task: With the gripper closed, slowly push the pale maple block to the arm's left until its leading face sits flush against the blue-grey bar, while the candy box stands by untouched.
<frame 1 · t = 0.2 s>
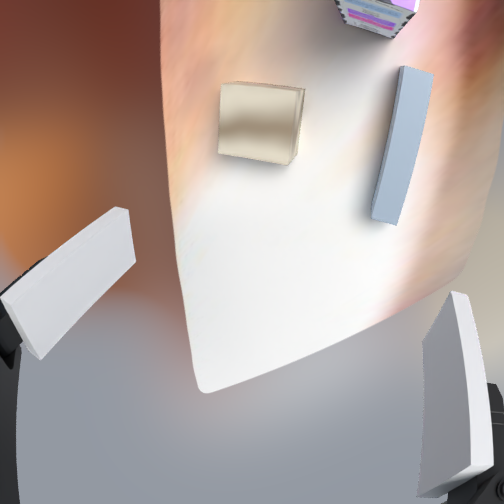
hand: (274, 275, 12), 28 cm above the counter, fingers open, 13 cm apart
block: (268, 116, 36), on the counter
blue-grey bar: (400, 141, 32), on the counter
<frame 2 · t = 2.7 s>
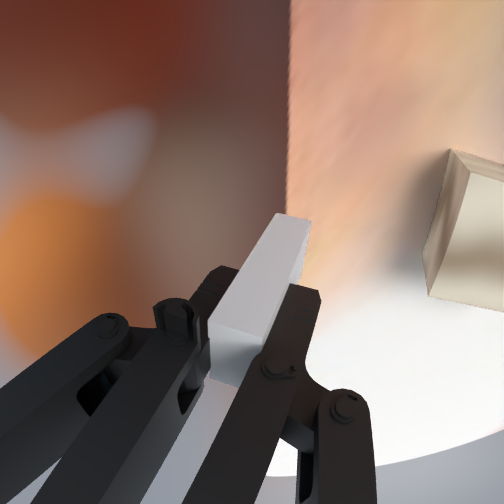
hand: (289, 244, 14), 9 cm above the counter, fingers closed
block: (485, 216, 18), on the counter
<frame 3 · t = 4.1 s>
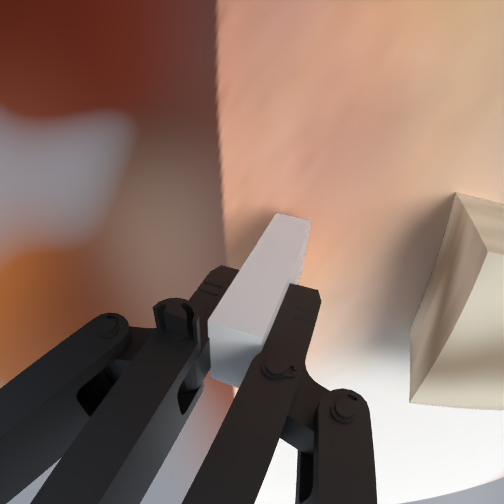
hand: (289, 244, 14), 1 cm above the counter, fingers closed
block: (498, 280, 13), on the counter
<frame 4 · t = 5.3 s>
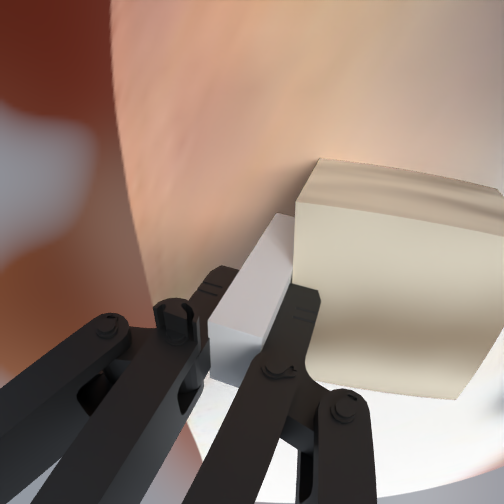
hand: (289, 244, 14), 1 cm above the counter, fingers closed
block: (398, 251, 14), on the counter, touching gripper
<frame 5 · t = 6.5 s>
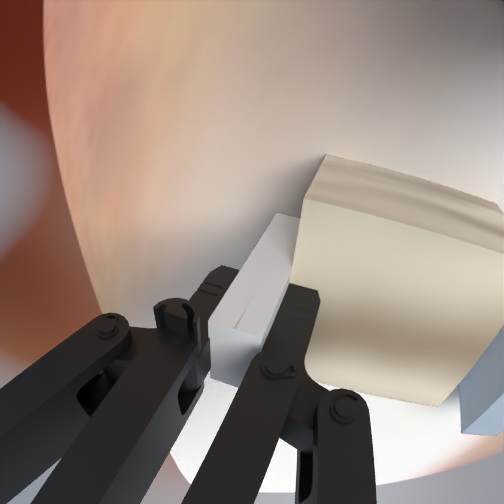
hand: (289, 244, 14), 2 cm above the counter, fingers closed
block: (392, 255, 14), on the counter, touching gripper
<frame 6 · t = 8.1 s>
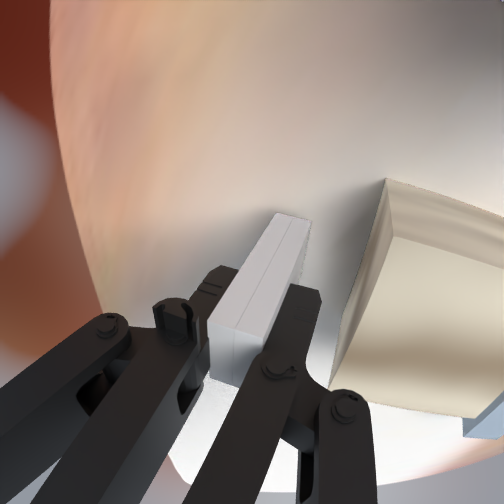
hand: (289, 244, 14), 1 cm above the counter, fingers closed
block: (437, 277, 14), on the counter
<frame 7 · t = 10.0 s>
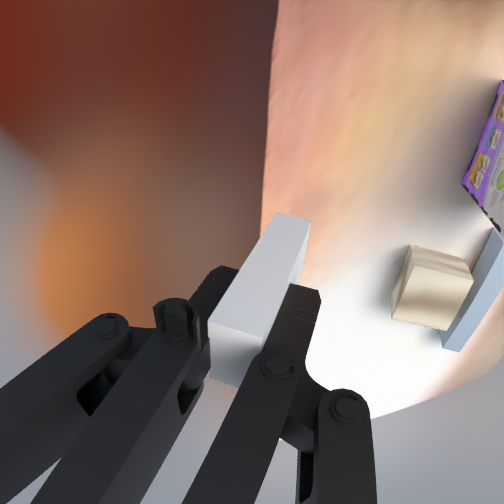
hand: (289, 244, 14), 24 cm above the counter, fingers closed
block: (427, 277, 37), on the counter
blue-grey bar: (474, 285, 35), on the counter
candy box: (500, 142, 26), on the counter
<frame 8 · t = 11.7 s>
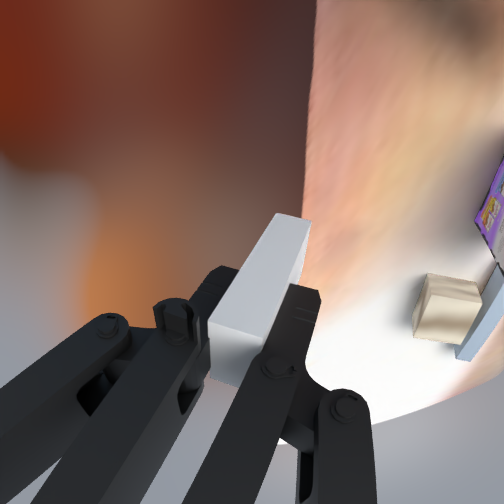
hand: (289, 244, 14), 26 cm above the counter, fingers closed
block: (443, 298, 41), on the counter
blue-grey bar: (484, 304, 39), on the counter
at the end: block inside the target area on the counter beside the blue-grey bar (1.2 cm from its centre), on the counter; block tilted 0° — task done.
